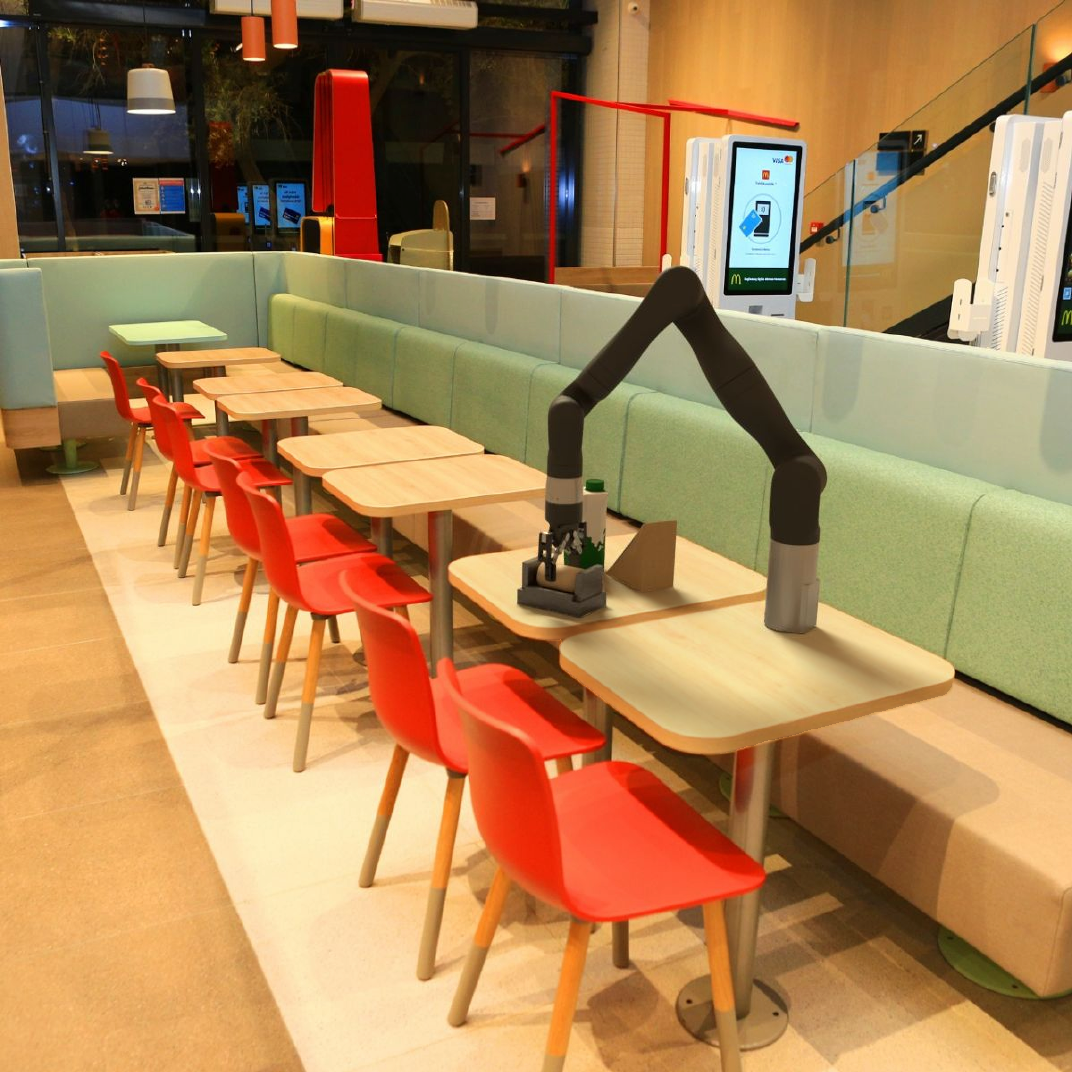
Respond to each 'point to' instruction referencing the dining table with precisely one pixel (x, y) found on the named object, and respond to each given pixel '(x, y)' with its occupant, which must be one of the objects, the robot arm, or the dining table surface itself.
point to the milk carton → (593, 525)
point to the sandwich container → (648, 558)
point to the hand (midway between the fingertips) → (562, 576)
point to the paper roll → (559, 577)
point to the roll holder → (563, 602)
